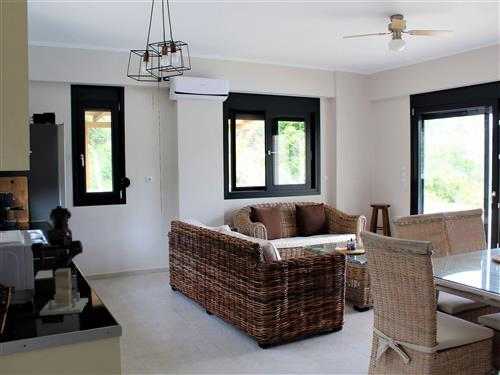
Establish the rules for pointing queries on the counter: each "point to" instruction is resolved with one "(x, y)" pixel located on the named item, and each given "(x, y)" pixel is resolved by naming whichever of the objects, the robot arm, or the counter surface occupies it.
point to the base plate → (73, 308)
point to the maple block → (63, 287)
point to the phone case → (44, 275)
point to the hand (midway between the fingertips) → (54, 266)
